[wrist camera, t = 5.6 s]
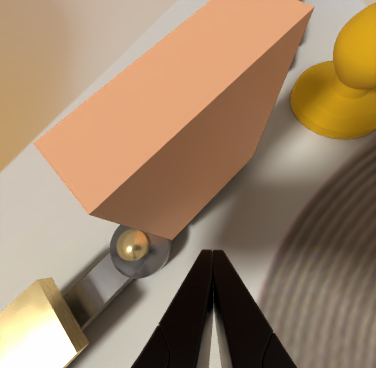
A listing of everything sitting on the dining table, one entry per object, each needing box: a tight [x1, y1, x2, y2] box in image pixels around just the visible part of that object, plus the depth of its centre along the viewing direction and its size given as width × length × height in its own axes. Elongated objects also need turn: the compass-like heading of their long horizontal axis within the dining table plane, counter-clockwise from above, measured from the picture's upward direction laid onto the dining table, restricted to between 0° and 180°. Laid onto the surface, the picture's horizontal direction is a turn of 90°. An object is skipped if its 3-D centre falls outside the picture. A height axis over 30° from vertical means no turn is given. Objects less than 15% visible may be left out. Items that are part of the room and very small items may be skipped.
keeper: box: [0, 278, 89, 368], centre depth 13 cm, size 9×5×4 cm, turn 134°
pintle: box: [117, 229, 151, 261], centre depth 13 cm, size 2×2×1 cm
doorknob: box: [290, 3, 376, 139], centre depth 15 cm, size 8×8×8 cm
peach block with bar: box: [33, 0, 314, 331], centre depth 10 cm, size 4×22×11 cm, turn 135°
